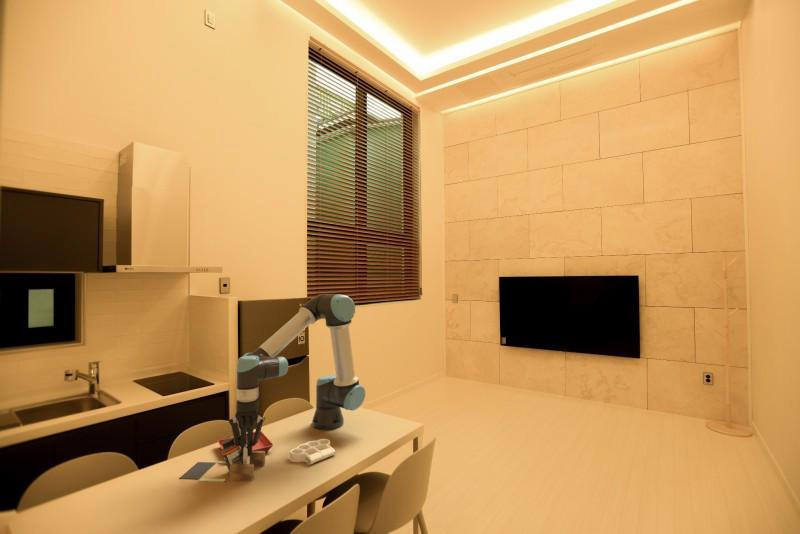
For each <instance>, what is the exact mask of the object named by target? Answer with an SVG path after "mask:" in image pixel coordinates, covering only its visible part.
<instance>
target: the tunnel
mask: <svg viewBox="0 0 800 534" xmlns="http://www.w3.org/2000/svg"><path fill="white" fill-rule="evenodd" d="M265 465H266V452H265V451H252V455H251V456H250V463H249V464H231V465H230V472H229V480H228V481H238V482H239V481H242V482H245V481H247V482H251V481H253V480H254V479H255V467H264V466H265Z"/></svg>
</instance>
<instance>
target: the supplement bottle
mask: <svg viewBox="0 0 800 534" xmlns="http://www.w3.org/2000/svg"><path fill="white" fill-rule="evenodd" d="M228 438H229V439H227V440H225V441H224V442H223V443H222V445H223V450H222V449H221V453H222V454H221V455H222V456H223V460H224V461H225V462H226V464H225V465H226V467H227V470H228V472H229V473H230V465H231V464H243V456H241V449H240V446H236V444H235V442H234V439H233V438H231V437H228Z"/></svg>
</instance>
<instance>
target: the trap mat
mask: <svg viewBox="0 0 800 534" xmlns="http://www.w3.org/2000/svg"><path fill="white" fill-rule="evenodd" d="M216 464H217V462H214V461H213V462H212V461H211V462H210V461H198V462H196V463H195V464H194V465H192V466H191V467H190V468H189V469H188V470H187V471H186V472H185V473H183V474H182V475H181V476H180V477H179V478H178V479H180V480H200V478H201V479H202V478H203V476H204V475H205V474H206V473H207V472H208V471H209V470H210V469H211V468H212V467H214V466H215V465H216Z"/></svg>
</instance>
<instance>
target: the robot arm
mask: <svg viewBox="0 0 800 534" xmlns="http://www.w3.org/2000/svg"><path fill="white" fill-rule="evenodd" d="M355 313H356V306H355V302H354V301H353V299H352V298H351V297H350V296H348V295H345V294H340V293H339V294H338V293H335V294H334V293H321V294H318V295H316V296H315V297H312V298H311V299H309V300H308V301H307V302H306V303H305V304H303V305H302V306H301V307H300V308H299V310H298V313H296V314H294V316H293V317H292V318H291V319H289V321H287V322H286V323H285V324H284V325H282V326H281V327H280V328H279V329H278V330H277V331H276V332H274V334H273V335H271V336H270V337H269V338H267V340H265V341H264V342H263V343H261V345H259V346H258V348H256V349H255V350H254V351H251V352H246V353H245V354H243V356H241V357H239V358H238V360H237V363H236V364H237V365H236V366H237V367H236V400H237V401H236V407H235V408H236V412H235V415H234V416H233V417H231V418H230V419H228V423H229V425H230V426H231V431H232V435H233V437H234V440H235V444H236V446H240V447H241V456H243V464H249V463H250V456H251V455H252V446H255V445H256V444H257V443H258V439H259V435H260V432H261V431H262V428H263V424H264V422H265V421H266V417H262V416H261V415H260V413H259V399H258V398H259V395H260V394H259V393H260V392H259V391H260V390H259V389H260V387H259V384H260V381H265V380H269V379H274V378H280V377H283V376H285V375H287V373H288V371H289V361H288V359H287V358H286V357H284V356H278V355H279V353H281V352H282V351H283V350H284V349H285V348H286V347H287V346H288V345H289V344H290V343H291V342H293V341H294V340H295V339H296V338H297V337H298V336H299V335H300V334H301V333H302V332H303V331H304V330H306V328H307V327H309V326H310V325H314V324H315V323H316V322H317V321H319V320H323V319H324V320H325V326H326V327H327V328H329V332H330V340H331V345H332V346H331V347H332V355H333V361H334V371H335V374H331V375H324V376H320V377H319V378H317V380H316V386H315V387H316V388H315V389H316V391H315V393H316V398H315V399H316V400H315V411H314V415H313V417H312V419H311V426H312V427H313V428H315V429H318V430H326V431H328V430H333V429H338V428H340V427H342V426H343V425H344V424H345V423H344V422H345V421H344V415H343V412H342V409H344V410H345V411H346V410H347V411H357V410H358V409H359V408H360V407H361V406H362V405H363V403H364V401H365V399H366V390H365V387H364V386H363V385H361V384H360V379H359V376H357V375H355V365H354V359H353V358H354V357H353V348H352V342H351V334H350V325H351V323H352V319H353V318H354V316H355ZM341 408H342V409H341ZM256 422H257V425H256V426H255V423H256ZM238 423H239V424H238ZM254 426H255V427H256V429H255V431H254ZM253 432H255V435H254V438H253ZM240 435H241V436H240ZM246 444H247V445H246Z"/></svg>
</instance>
